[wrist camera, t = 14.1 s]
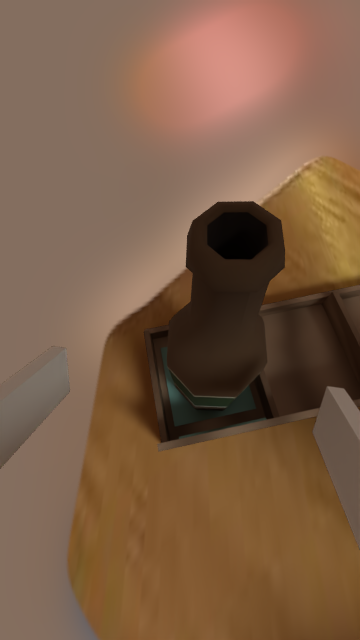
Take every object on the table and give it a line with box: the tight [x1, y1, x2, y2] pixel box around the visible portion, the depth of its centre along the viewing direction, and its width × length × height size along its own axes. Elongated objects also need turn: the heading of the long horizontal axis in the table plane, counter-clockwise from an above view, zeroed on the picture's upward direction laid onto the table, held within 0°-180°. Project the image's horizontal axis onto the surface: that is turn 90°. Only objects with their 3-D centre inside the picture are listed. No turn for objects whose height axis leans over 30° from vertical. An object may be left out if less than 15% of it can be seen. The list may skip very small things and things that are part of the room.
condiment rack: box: [144, 285, 360, 451], centre depth 30 cm, size 34×13×7 cm, turn 101°
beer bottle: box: [167, 201, 285, 411], centre depth 20 cm, size 8×8×24 cm
